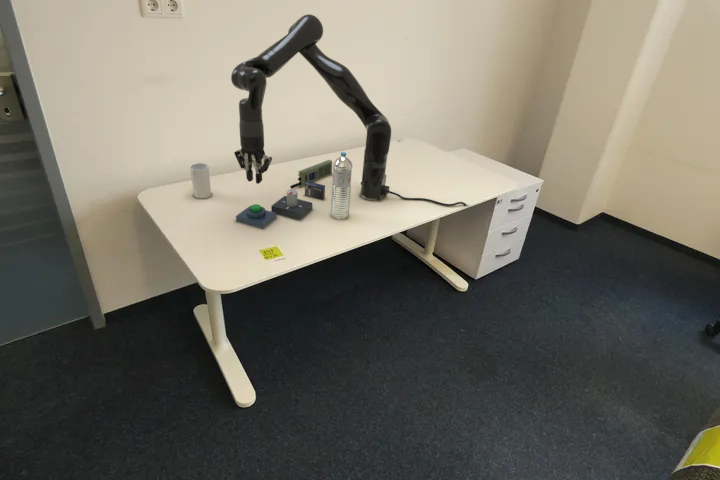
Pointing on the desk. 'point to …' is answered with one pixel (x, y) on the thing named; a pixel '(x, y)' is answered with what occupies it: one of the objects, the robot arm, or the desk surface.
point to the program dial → (292, 198)
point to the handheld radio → (314, 173)
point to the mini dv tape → (314, 190)
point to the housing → (256, 217)
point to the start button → (255, 208)
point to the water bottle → (341, 187)
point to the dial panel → (292, 208)
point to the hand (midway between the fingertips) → (254, 181)
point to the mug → (200, 180)
